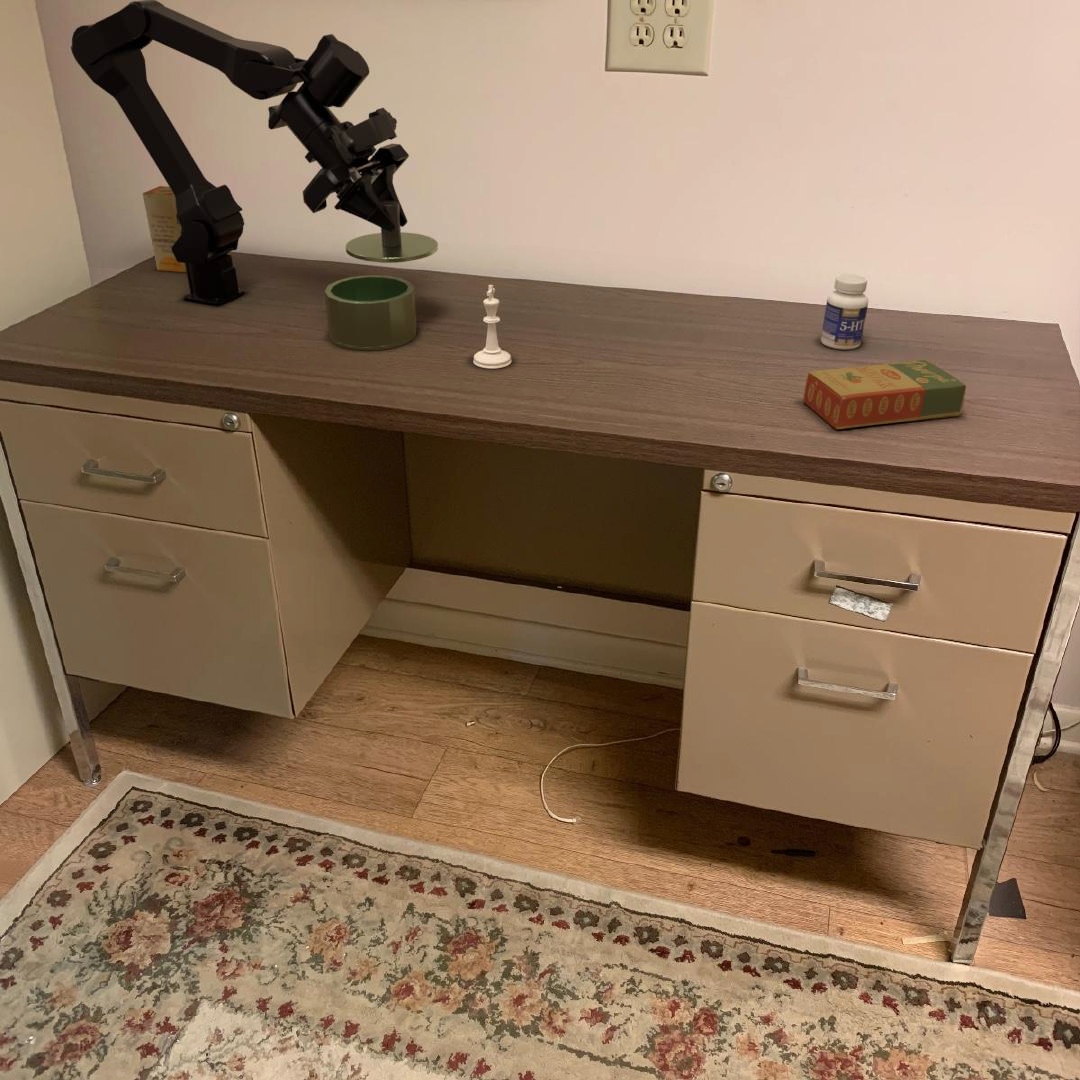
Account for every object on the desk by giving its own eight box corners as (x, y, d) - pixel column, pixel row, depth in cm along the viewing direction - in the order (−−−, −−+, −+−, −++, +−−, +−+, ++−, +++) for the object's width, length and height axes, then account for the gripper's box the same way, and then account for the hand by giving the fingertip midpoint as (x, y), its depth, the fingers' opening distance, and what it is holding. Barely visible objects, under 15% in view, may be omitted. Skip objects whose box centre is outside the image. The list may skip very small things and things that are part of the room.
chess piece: (516, 357, 134) (516, 281, 128) (503, 371, 130) (502, 293, 124) (481, 352, 135) (479, 277, 130) (467, 366, 131) (464, 289, 126)
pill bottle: (838, 353, 135) (849, 287, 131) (812, 340, 139) (822, 275, 135) (869, 346, 137) (881, 281, 133) (842, 334, 141) (853, 270, 137)
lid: (330, 262, 136) (325, 210, 132) (368, 237, 146) (364, 189, 142) (418, 270, 133) (415, 218, 129) (450, 244, 143) (449, 195, 140)
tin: (313, 342, 138) (307, 295, 134) (359, 316, 147) (355, 271, 143) (388, 356, 134) (384, 307, 130) (431, 327, 143) (428, 281, 139)
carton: (801, 403, 122) (806, 369, 120) (920, 389, 125) (927, 356, 123) (836, 432, 115) (842, 396, 113) (961, 416, 119) (969, 382, 116)
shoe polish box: (201, 263, 168) (188, 187, 162) (185, 272, 164) (171, 195, 158) (173, 261, 169) (159, 186, 163) (157, 270, 165) (142, 193, 159)
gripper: (313, 99, 123) (399, 204, 125) (391, 79, 137) (468, 173, 140) (266, 162, 129) (349, 260, 132) (346, 136, 144) (419, 225, 146)
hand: (399, 227), depth 137 cm, fingers closed on lid, 2 cm apart
